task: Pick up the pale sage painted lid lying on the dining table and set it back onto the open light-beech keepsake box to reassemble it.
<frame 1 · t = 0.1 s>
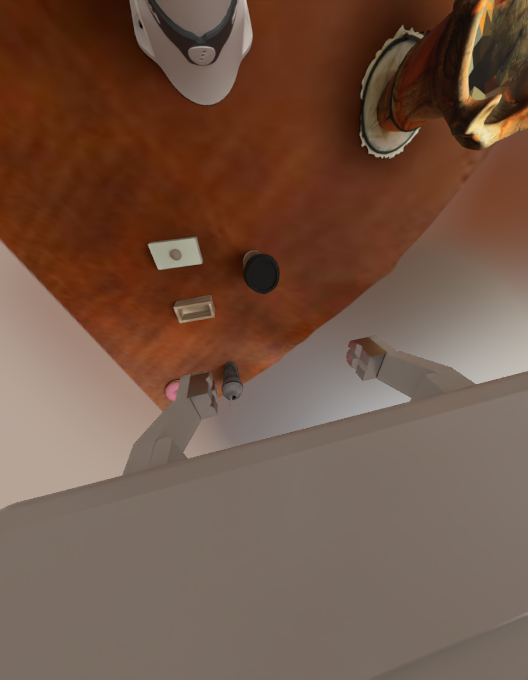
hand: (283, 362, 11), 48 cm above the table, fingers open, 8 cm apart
beverage cup: (230, 365, 73), on the table
doughnut: (181, 386, 75), on the table
lid: (178, 251, 48), on the table
coffee cup: (253, 261, 53), on the table
decorative vase: (395, 101, 40), on the table
box base: (196, 305, 57), on the table
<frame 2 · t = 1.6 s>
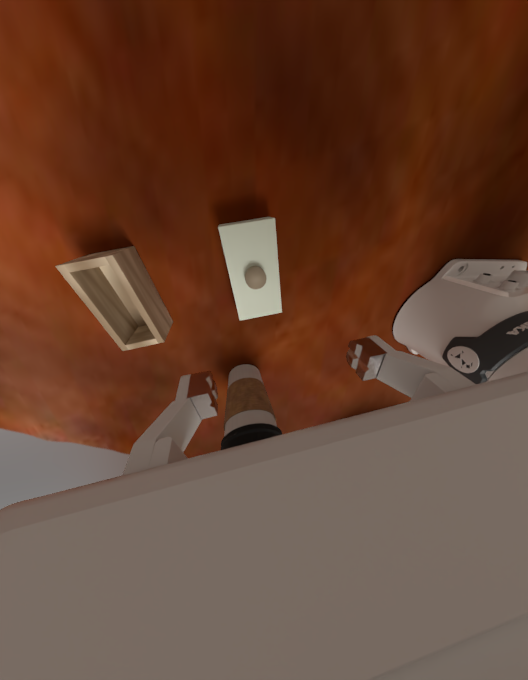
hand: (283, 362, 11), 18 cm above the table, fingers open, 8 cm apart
lid: (251, 268, 25), on the table
coffee cup: (244, 374, 36), on the table
box base: (136, 292, 24), on the table
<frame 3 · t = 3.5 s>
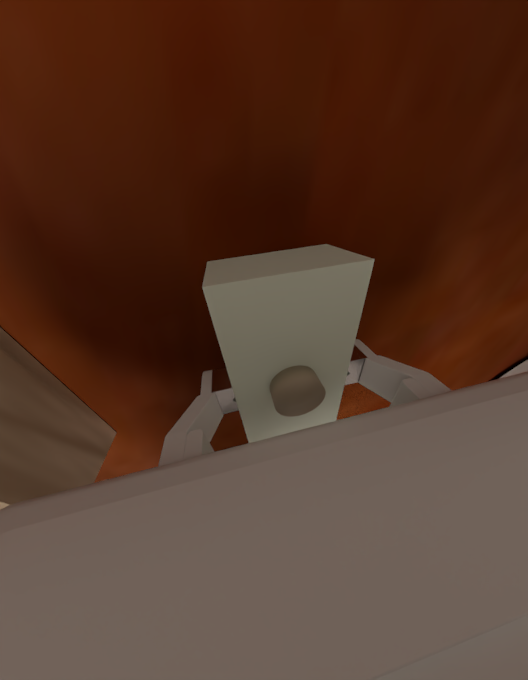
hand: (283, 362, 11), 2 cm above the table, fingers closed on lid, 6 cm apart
lid: (275, 341, 12), on the table, touching gripper
box base: (19, 398, 11), on the table
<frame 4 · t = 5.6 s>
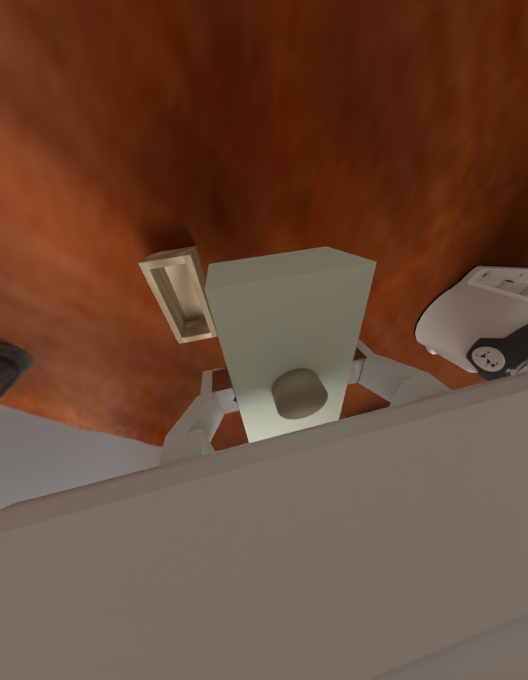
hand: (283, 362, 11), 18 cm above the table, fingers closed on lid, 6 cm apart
beverage cup: (12, 355, 27), on the table
lid: (276, 344, 12), point 16 cm above the table, touching gripper
box base: (190, 289, 25), on the table
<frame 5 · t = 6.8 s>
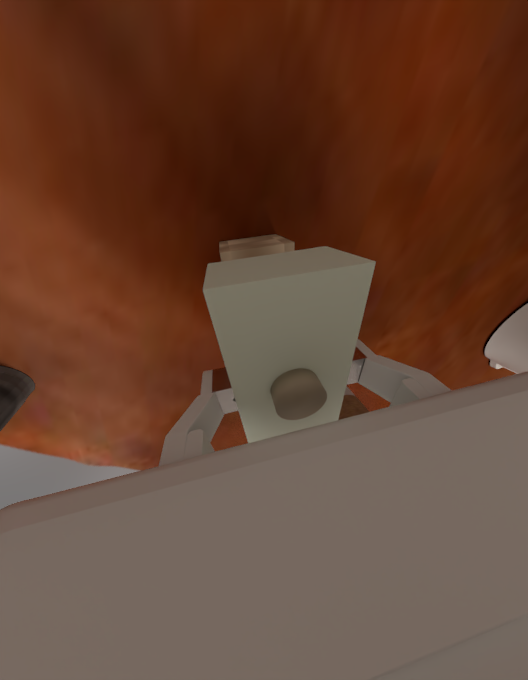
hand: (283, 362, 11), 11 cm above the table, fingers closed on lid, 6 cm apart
beverage cup: (6, 380, 19), on the table
lid: (275, 344, 12), point 9 cm above the table, touching gripper
coffee cup: (326, 389, 32), on the table
box base: (255, 292, 19), on the table
when the fingers open (8 cm above the table, at t = 7.9 s): lid stays where it is, resting on box base.
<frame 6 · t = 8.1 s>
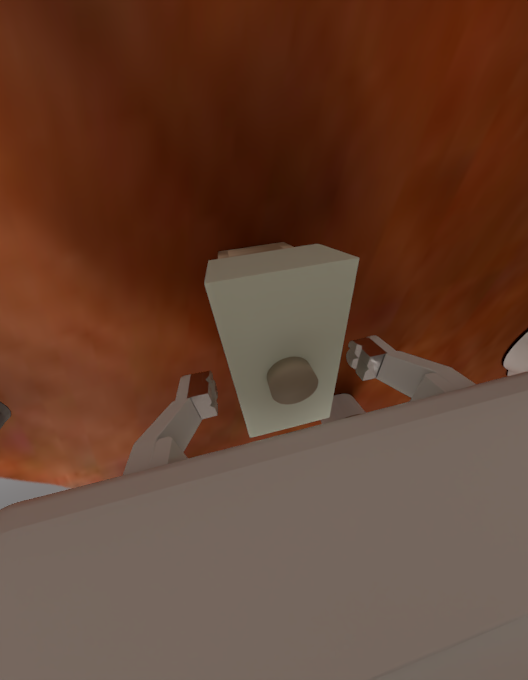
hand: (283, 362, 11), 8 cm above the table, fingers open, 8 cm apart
lid: (272, 336, 13), point 5 cm above the table, touching box base
coffee cup: (334, 404, 29), on the table
box base: (259, 307, 17), on the table
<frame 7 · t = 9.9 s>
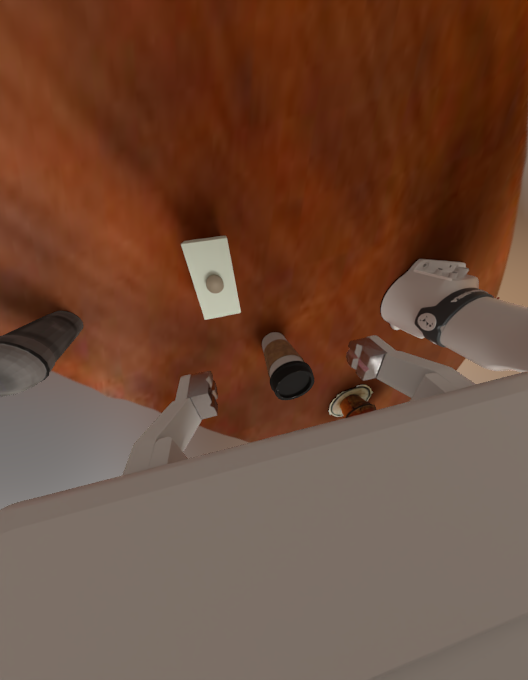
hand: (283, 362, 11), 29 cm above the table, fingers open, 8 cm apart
beverage cup: (67, 321, 33), on the table
lid: (214, 276, 30), point 5 cm above the table, touching box base
coffee cup: (273, 341, 46), on the table
decorative vase: (350, 400, 70), on the table
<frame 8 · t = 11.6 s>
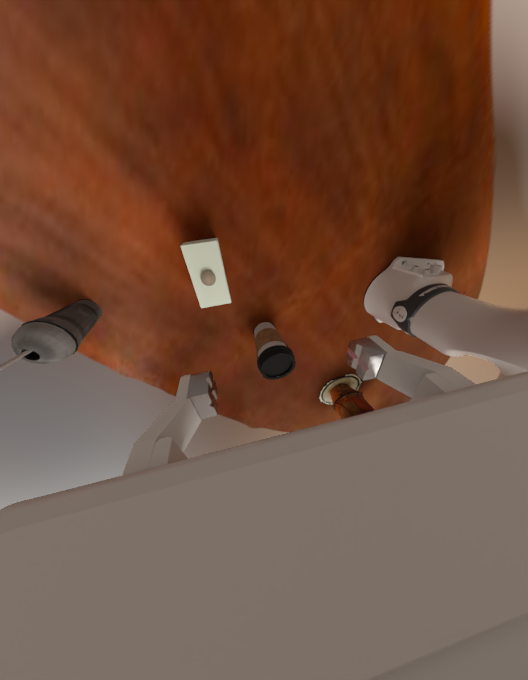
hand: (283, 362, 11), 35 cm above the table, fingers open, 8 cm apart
beverage cup: (89, 309, 40), on the table
lid: (209, 271, 35), point 5 cm above the table, touching box base
coffee cup: (264, 330, 52), on the table
decorative vase: (340, 389, 75), on the table
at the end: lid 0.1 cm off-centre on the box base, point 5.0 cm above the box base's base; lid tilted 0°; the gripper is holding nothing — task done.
